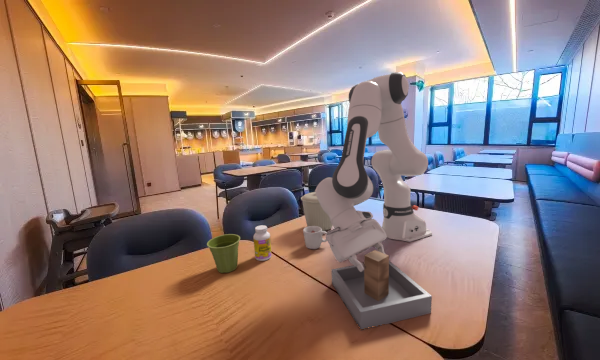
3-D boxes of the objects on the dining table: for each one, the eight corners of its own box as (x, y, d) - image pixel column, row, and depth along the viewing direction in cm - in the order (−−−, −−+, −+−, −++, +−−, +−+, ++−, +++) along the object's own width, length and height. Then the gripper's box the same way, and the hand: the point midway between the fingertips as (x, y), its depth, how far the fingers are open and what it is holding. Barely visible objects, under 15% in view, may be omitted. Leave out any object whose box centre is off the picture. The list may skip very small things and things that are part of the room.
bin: (387, 272, 83) (387, 259, 82) (431, 313, 63) (431, 295, 63) (331, 283, 78) (331, 269, 78) (360, 330, 59) (360, 312, 58)
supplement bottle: (258, 263, 94) (255, 231, 91) (253, 256, 100) (250, 226, 97) (274, 258, 97) (271, 228, 94) (268, 252, 103) (266, 223, 100)
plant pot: (223, 258, 99) (220, 232, 97) (249, 262, 95) (246, 235, 93) (203, 274, 88) (199, 245, 86) (231, 279, 84) (227, 249, 82)
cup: (328, 242, 108) (328, 225, 107) (329, 250, 101) (328, 232, 99) (304, 242, 109) (303, 226, 108) (303, 251, 102) (302, 233, 100)
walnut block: (374, 286, 74) (374, 249, 72) (388, 294, 70) (388, 255, 68) (364, 292, 71) (364, 255, 69) (378, 301, 68) (378, 261, 65)
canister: (339, 234, 117) (338, 191, 113) (302, 235, 117) (299, 193, 114) (335, 221, 134) (334, 183, 131) (302, 222, 135) (300, 185, 131)
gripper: (328, 227, 68) (355, 274, 62) (374, 210, 80) (401, 248, 74) (318, 237, 72) (343, 282, 66) (363, 220, 84) (388, 256, 78)
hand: (374, 264), depth 70 cm, fingers open, 8 cm apart
